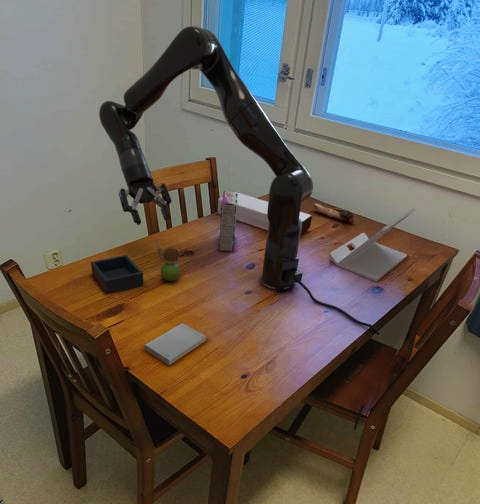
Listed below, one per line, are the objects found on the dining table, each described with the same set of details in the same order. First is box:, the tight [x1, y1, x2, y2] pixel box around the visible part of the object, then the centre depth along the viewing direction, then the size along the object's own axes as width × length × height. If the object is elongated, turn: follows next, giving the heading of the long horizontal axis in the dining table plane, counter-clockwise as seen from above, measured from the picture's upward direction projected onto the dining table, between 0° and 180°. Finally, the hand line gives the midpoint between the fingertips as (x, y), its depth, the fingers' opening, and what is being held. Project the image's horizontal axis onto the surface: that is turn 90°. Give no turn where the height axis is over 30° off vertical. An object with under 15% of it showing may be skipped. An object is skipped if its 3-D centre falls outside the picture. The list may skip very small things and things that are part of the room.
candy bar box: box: [218, 190, 239, 252], centre depth 150 cm, size 11×5×16 cm, turn 179°
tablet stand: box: [328, 208, 416, 282], centre depth 150 cm, size 18×25×17 cm
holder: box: [90, 254, 144, 295], centre depth 129 cm, size 12×11×4 cm
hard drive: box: [143, 322, 207, 366], centre depth 108 cm, size 2×8×12 cm
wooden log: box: [313, 203, 354, 224], centre depth 183 cm, size 9×5×18 cm
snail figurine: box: [156, 241, 181, 282], centre depth 129 cm, size 5×6×12 cm
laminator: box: [216, 191, 313, 235], centre depth 170 cm, size 34×12×6 cm, turn 58°
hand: (153, 221), depth 131 cm, fingers open, 8 cm apart
